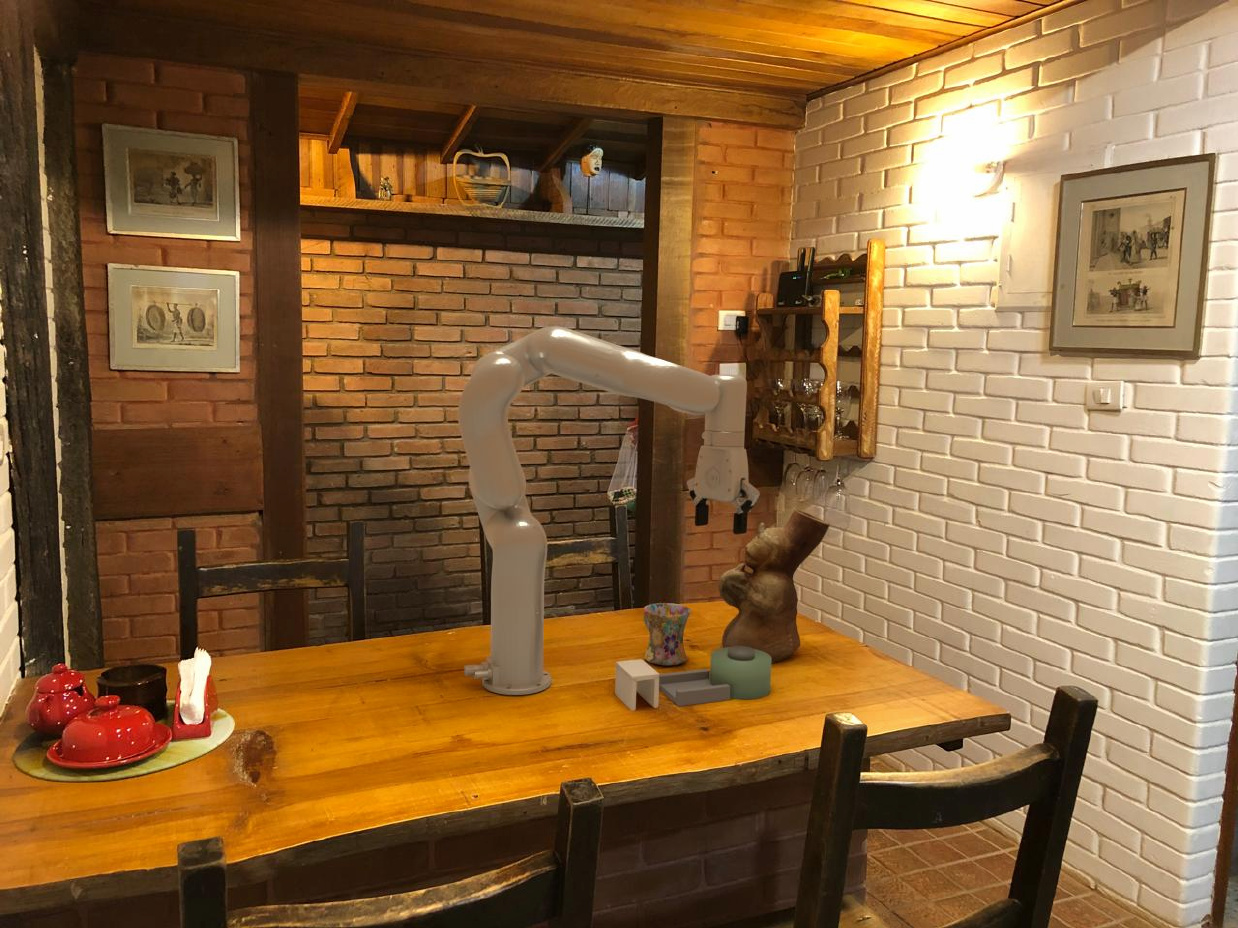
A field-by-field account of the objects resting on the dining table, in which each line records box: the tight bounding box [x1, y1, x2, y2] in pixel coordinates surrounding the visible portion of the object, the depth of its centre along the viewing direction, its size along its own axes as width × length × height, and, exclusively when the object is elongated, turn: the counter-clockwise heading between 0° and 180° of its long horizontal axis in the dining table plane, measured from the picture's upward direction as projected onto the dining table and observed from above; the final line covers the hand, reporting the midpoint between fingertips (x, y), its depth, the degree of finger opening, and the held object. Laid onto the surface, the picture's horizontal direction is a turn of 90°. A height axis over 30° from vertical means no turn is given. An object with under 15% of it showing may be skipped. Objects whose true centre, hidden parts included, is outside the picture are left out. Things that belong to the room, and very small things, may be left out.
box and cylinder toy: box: [659, 646, 772, 707], centre depth 166 cm, size 20×11×7 cm, turn 111°
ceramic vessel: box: [718, 509, 830, 664], centre depth 187 cm, size 16×22×30 cm
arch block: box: [614, 658, 660, 711], centre depth 161 cm, size 8×5×6 cm, turn 21°
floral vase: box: [642, 602, 692, 667], centre depth 183 cm, size 12×9×11 cm
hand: (720, 529), depth 175 cm, fingers open, 9 cm apart
